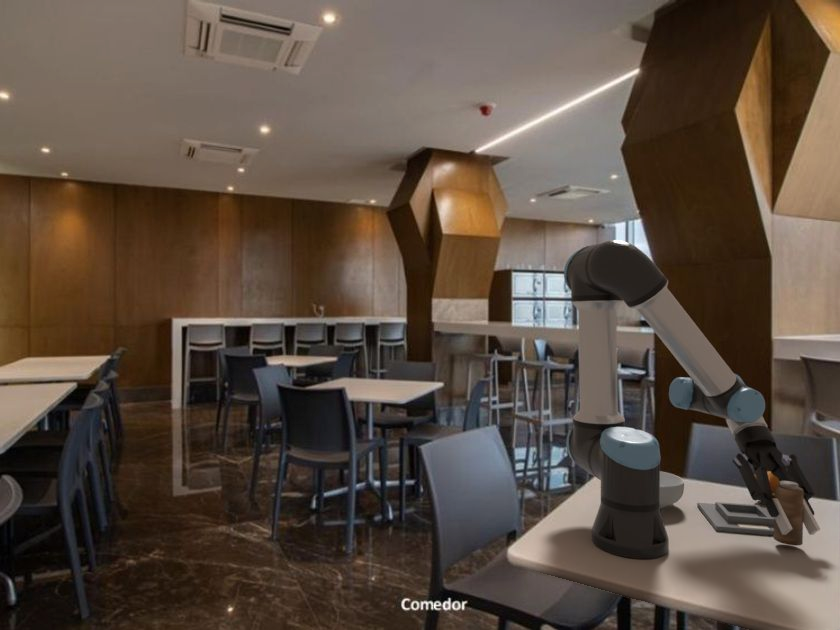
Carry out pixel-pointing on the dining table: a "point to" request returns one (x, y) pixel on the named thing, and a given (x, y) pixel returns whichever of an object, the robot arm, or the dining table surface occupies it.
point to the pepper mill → (790, 512)
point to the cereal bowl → (670, 489)
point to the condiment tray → (738, 518)
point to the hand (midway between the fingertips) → (801, 531)
